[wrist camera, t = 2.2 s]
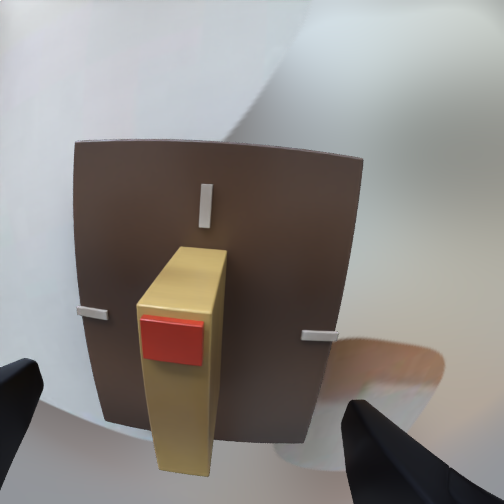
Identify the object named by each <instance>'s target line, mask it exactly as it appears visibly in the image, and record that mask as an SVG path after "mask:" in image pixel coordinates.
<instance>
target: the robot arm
mask: <svg viewBox="0 0 504 504" xmlns="http://www.w3.org/2000/svg"><path fill="white" fill-rule="evenodd" d="M43 387H44V383H43V379H42V376H41V373H40V370H39V366H38V364H37V362H36V361H34V360H31V359H28V358H23V359H21V360H18V361H16V362H13V363H10V364H8V365H5V366H3V367H0V490H1V487H2V485H3V482H4V480H5V477H6V475H7V473H8V470H9V468H10V466H11V463H12V461H13V459H14V457H15V454H16V452H17V450H18V448H19V446H20V444H21V442H22V440H23V437H24V435H25V433H26V431H27V429H28V427H29V424H30V422H31V419H32V417H33V414H34V411H35V408H36V406H37V403H38V401H39V398H40V396H41V393H42V391H43ZM341 431H342V439H343V447H344V456H345V466H346V473H347V478H348V482H349V486H350V490H351V495H352V499H353V503H354V504H504V500H502V499H500V498H498V497H496V496H495V495H493V494H491V493H489V492H487V491H486V490H484V489H482V488H481V487H479V486H477V485H476V484H474V483H472V482H471V481H469V480H468V479H466V478H465V477H464V476H462V475H461V474H459V473H458V472H457V471H455V470H454V469H453V468H449V466H448V465H447V464H446V463H444V462H443V461H442V460H440V459H439V458H438V457H437V456H435V455H434V454H432V453H431V452H430V451H429V450H427V449H426V448H425V447H423V446H422V445H421V444H420V443H418V442H417V441H415V440H414V439H413V438H412V437H410V436H409V435H408V434H407V433H406V432H404V431H403V430H402V429H400V428H399V427H398V426H397V425H395V424H394V423H393V422H392V421H390V420H389V419H388V418H387V417H385V416H384V415H383V414H382V413H380V412H379V411H378V410H377V409H375V408H374V407H373V406H372V405H371V404H369V403H368V402H367V401H365V400H351V401H350V402H349V403H348V405H347V408H346V411H345V413H344V416H343V419H342V422H341Z"/></svg>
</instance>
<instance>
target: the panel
mask: <svg viewBox="0 0 504 504" xmlns="http://www.w3.org/2000/svg"><path fill="white" fill-rule="evenodd" d="M362 170H363V159H362V158H358V157H352V156H346V155H340V154H334V153H326V152H320V151H312V150H305V149H297V148H288V147H279V146H270V145H259V144H248V143H234V142H220V141H202V140H175V139H110V140H84V141H76V142H75V149H74V172H73V218H74V241H75V256H76V269H77V279H78V288H79V296H80V304H81V306H77V307H76V308H77V315H81V316H82V318H83V325H84V331H85V337H86V342H87V348H88V353H89V358H90V363H91V367H92V372H93V376H94V381H95V385H96V389H97V393H98V397H99V401H100V405H101V408H102V412H103V415H104V419H105V421H108V422H112V423H116V424H121V425H125V426H130V427H134V428H139V429H144V430H150V431H151V426H150V420H149V414H148V408H147V401H146V394H145V387H144V379H143V371H142V363H141V354H140V344H139V333H138V320H137V306H136V305H137V303H138V302H139V300H140V299H141V298H142V296H143V295H144V294H145V292H146V291H147V290H148V288H149V287H150V286H151V284H152V283H153V282H154V280H155V279H156V278H157V276H158V275H159V274H160V272H161V271H162V270H163V268H164V267H165V266H166V265H167V263H168V262H169V261H170V259H171V258H172V257H173V255H174V254H175V253H176V252H177V250H178V249H179V248H180V247H192V248H204V249H216V250H226V251H227V265H226V281H225V296H224V313H223V330H222V349H221V368H220V390H219V398H218V406H217V414H216V423H215V431H214V439H213V440H225V441H236V442H253V443H304V441H305V438H306V435H307V432H308V428H309V425H310V422H311V419H312V415H313V412H314V409H315V405H316V402H317V398H318V395H319V391H320V388H321V384H322V380H323V376H324V373H325V369H326V365H327V361H328V357H329V353H330V349H331V345H332V341H337V339H338V335H339V333H338V332H337V331H335V328H336V323H337V319H338V314H339V309H340V305H341V300H342V296H343V290H344V286H345V280H346V275H347V270H348V264H349V259H350V253H351V248H352V242H353V235H354V229H355V223H356V216H357V209H358V201H359V194H360V186H361V178H362Z"/></svg>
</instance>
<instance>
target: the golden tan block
mask: <svg viewBox="0 0 504 504" xmlns="http://www.w3.org/2000/svg"><path fill="white" fill-rule="evenodd" d="M226 265H227V251H226V250H216V249H204V248H192V247H180V248H179V249H178V250H177V252H176V253H175V254H174V255H173V257H172V258H171V259H170V261H169V262H168V263H167V265H166V266H165V267H164V268H163V270H162V271H161V272H160V274H159V275H158V276H157V278H156V279H155V280H154V282H153V283H152V284H151V286H150V287H149V288H148V290H147V291H146V292H145V294H144V295H143V296H142V298H141V299H140V300H139V302H138V303H137V305H136V306H137V320H138V333H139V344H140V354H141V363H142V371H143V379H144V387H145V394H146V401H147V408H148V414H149V420H150V426H151V432H152V437H153V443H154V448H155V453H156V458H157V463H158V467H159V470H163V471H169V472H175V473H182V474H189V475H197V476H205V477H208V476H209V473H210V464H211V456H212V447H213V439H214V431H215V423H216V414H217V406H218V398H219V390H220V368H221V349H222V330H223V313H224V296H225V281H226Z"/></svg>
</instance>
